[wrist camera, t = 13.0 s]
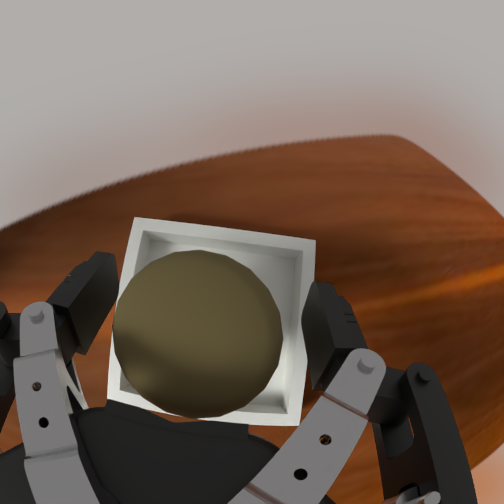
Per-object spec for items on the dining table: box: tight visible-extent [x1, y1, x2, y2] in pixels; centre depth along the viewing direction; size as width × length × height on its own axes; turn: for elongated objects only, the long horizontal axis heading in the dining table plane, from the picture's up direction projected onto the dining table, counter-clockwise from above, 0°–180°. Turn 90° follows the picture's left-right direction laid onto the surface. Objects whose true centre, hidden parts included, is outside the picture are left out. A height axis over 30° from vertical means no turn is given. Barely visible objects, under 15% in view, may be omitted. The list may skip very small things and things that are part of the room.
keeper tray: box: [107, 217, 316, 426], centre depth 16 cm, size 12×12×3 cm
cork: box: [112, 250, 283, 419], centre depth 12 cm, size 6×6×11 cm
